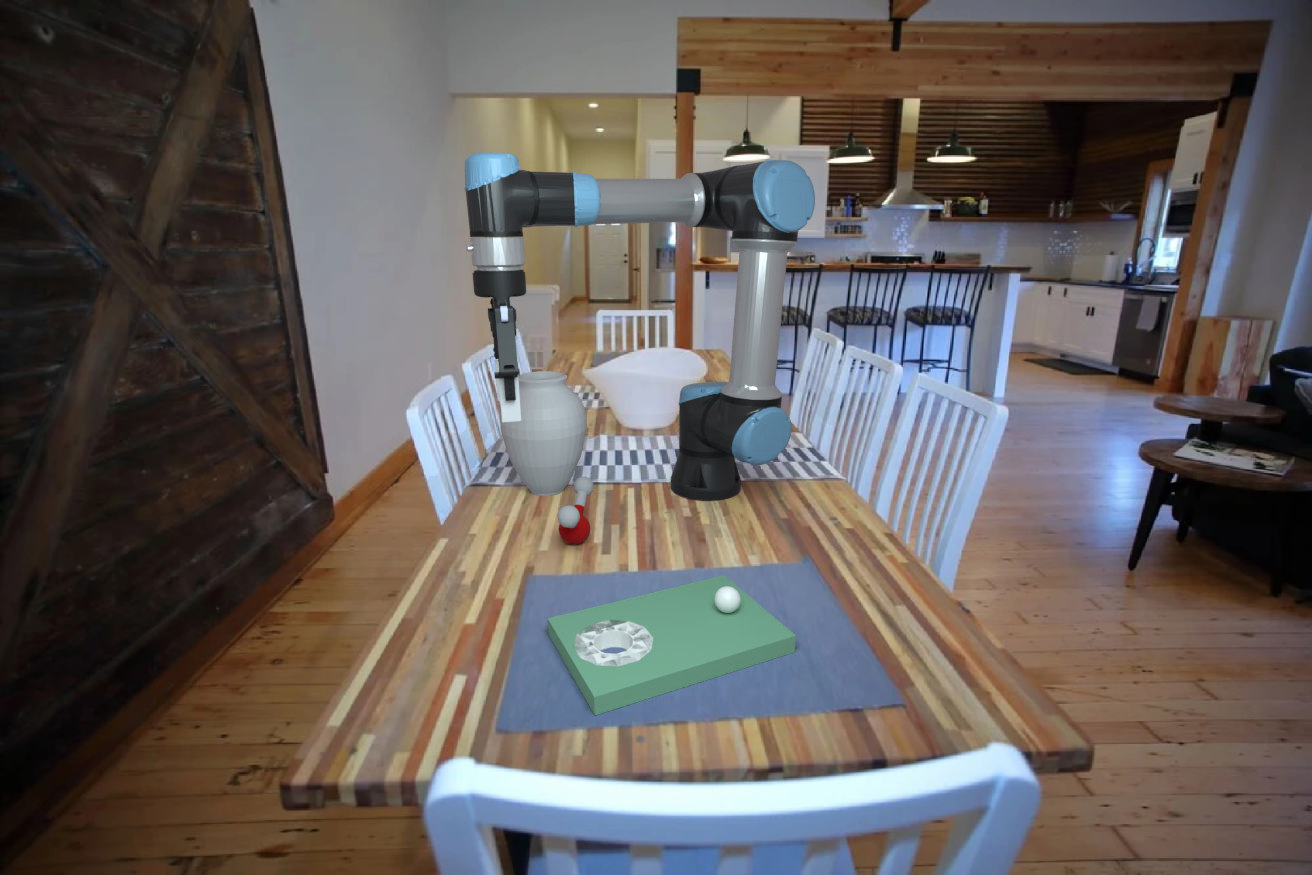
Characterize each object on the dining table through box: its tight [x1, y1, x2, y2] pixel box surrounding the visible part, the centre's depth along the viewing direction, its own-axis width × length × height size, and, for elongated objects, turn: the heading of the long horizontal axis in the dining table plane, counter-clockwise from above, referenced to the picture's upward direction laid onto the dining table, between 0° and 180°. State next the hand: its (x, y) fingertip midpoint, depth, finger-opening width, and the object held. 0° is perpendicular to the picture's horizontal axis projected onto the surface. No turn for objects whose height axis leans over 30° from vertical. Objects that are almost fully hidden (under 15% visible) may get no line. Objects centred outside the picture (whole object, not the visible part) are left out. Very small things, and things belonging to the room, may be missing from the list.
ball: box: [714, 586, 741, 613], centre depth 92 cm, size 4×4×4 cm
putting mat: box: [547, 574, 797, 716], centre depth 90 cm, size 28×18×2 cm, turn 116°
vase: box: [499, 370, 588, 497], centre depth 140 cm, size 18×18×25 cm
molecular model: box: [556, 476, 595, 546], centre depth 118 cm, size 18×6×10 cm, turn 175°
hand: (508, 409), depth 104 cm, fingers open, 13 cm apart
